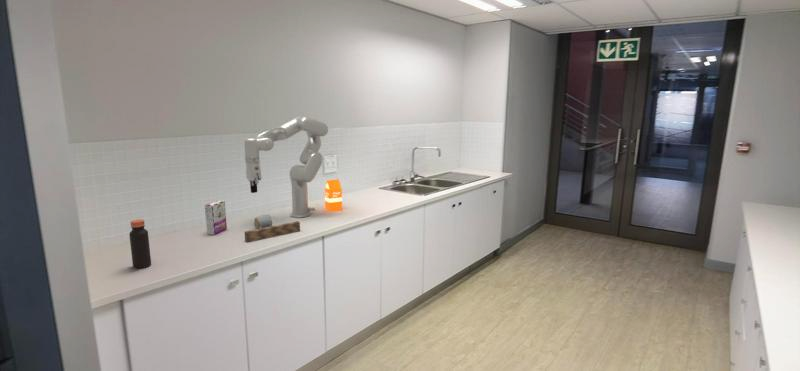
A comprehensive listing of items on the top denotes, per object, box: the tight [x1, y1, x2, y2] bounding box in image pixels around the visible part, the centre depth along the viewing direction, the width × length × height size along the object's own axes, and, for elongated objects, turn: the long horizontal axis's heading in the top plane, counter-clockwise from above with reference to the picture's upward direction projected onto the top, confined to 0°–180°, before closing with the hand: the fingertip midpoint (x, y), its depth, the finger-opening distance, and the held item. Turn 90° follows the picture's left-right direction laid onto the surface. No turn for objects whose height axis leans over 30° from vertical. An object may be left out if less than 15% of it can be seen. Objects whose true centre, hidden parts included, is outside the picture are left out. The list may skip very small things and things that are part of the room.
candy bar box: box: [204, 200, 228, 236], centre depth 233 cm, size 11×5×16 cm, turn 168°
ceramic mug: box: [253, 213, 273, 229], centre depth 239 cm, size 11×8×8 cm
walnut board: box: [243, 220, 301, 243], centre depth 228 cm, size 30×2×5 cm, turn 132°
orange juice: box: [324, 178, 343, 212], centre depth 283 cm, size 8×9×20 cm
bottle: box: [129, 219, 152, 270], centre depth 183 cm, size 7×7×20 cm
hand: (254, 192), depth 245 cm, fingers closed
